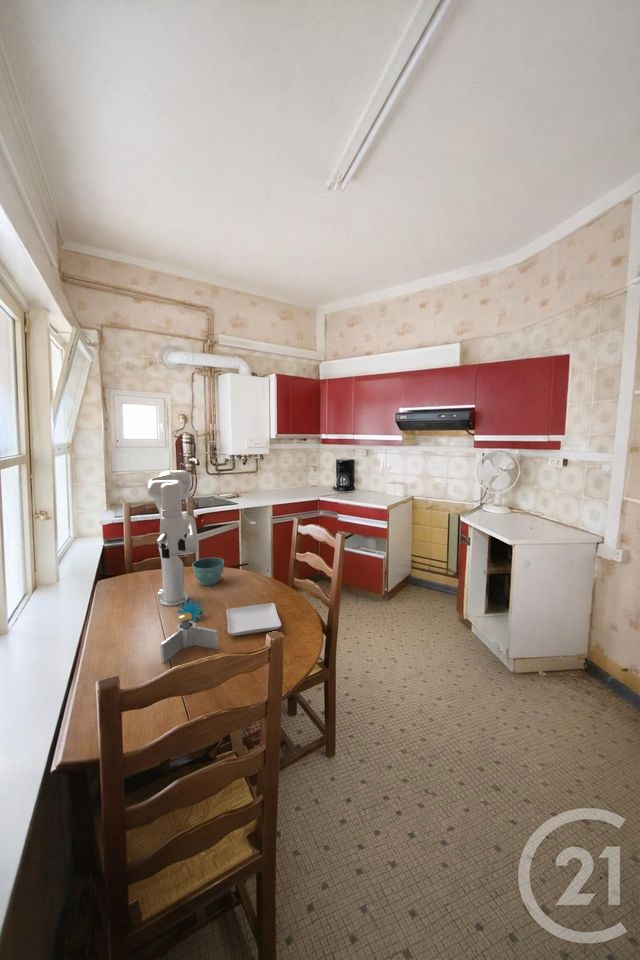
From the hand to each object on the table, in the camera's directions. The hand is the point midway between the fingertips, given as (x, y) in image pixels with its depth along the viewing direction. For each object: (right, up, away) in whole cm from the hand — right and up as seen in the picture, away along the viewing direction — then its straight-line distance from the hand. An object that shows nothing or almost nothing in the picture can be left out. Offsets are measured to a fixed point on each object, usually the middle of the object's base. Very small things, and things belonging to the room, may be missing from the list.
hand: (174, 554), depth 155 cm
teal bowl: (0, -25, +48) cm, 54 cm away
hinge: (+12, -33, -17) cm, 39 cm away
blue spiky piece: (+5, -30, +8) cm, 31 cm away
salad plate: (+32, -31, +4) cm, 44 cm away
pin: (+9, -32, -11) cm, 35 cm away
